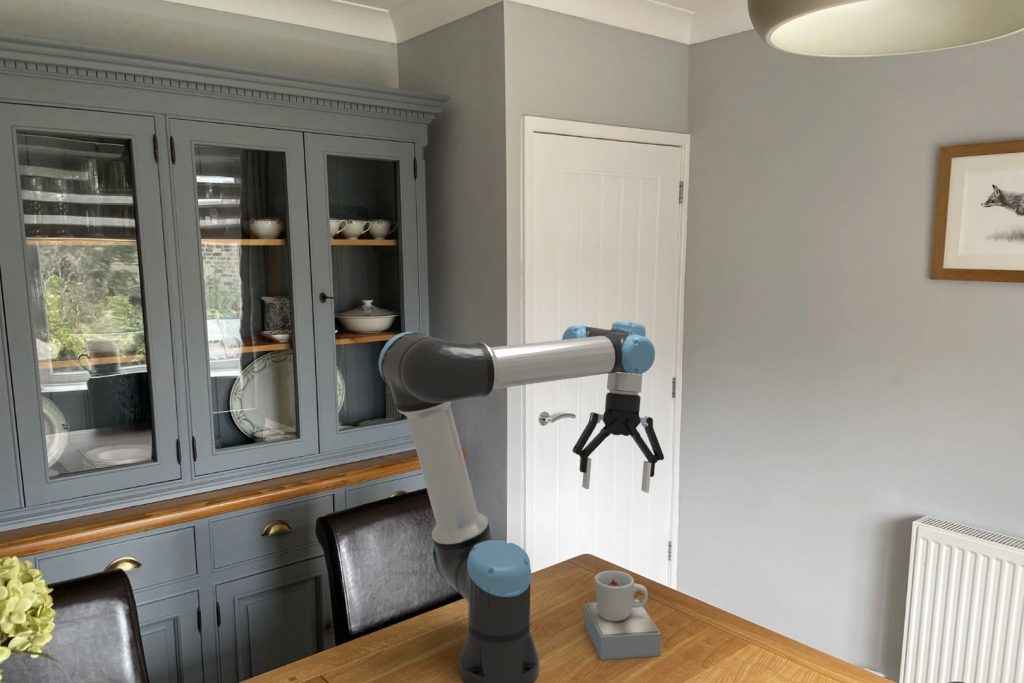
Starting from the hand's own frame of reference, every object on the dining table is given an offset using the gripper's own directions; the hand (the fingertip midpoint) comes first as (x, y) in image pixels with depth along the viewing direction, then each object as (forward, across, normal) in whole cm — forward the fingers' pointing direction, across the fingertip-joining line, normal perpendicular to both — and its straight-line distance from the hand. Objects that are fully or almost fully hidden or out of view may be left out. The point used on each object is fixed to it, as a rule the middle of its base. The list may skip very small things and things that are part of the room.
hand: (615, 489), depth 162 cm
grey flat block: (+29, 0, +10) cm, 30 cm away
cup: (+24, 0, +10) cm, 26 cm away
